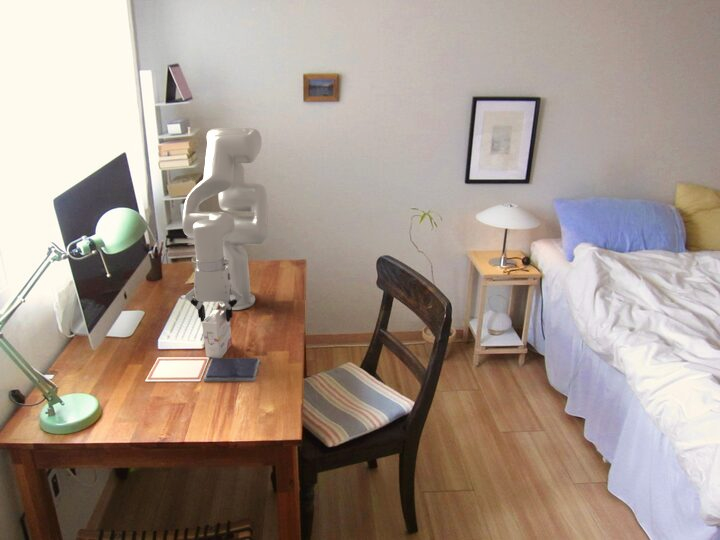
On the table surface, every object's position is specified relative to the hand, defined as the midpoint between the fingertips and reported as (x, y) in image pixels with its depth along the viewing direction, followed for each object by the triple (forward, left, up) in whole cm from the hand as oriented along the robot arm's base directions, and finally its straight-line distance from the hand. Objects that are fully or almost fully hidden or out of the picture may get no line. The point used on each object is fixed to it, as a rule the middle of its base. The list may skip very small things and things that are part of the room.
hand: (216, 319), depth 166 cm
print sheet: (+10, -9, -11) cm, 17 cm away
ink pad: (+11, +6, -11) cm, 16 cm away
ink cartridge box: (0, 0, -11) cm, 11 cm away
